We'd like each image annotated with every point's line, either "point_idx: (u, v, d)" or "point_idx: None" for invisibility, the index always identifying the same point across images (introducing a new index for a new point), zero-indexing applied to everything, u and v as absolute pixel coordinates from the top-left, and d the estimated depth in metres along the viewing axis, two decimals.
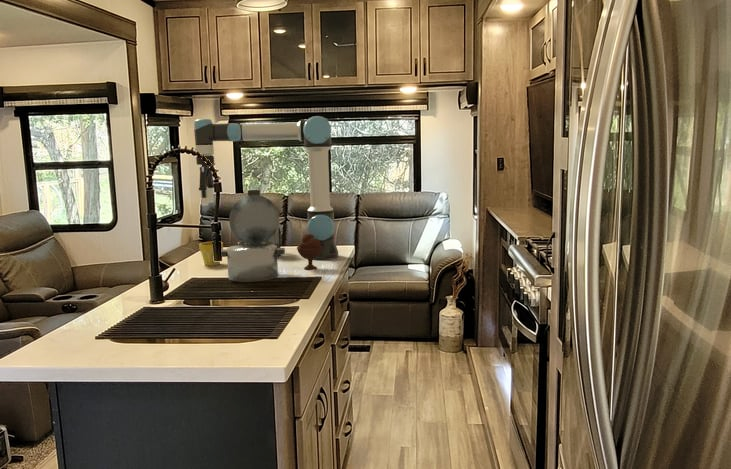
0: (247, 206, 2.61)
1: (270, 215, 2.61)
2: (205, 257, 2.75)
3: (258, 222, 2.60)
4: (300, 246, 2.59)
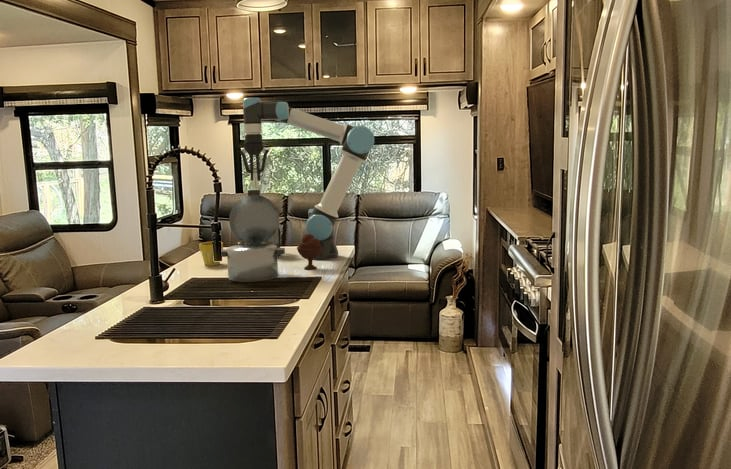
0: (247, 206, 2.61)
1: (270, 215, 2.61)
2: (205, 257, 2.75)
3: (258, 222, 2.60)
4: (300, 246, 2.59)
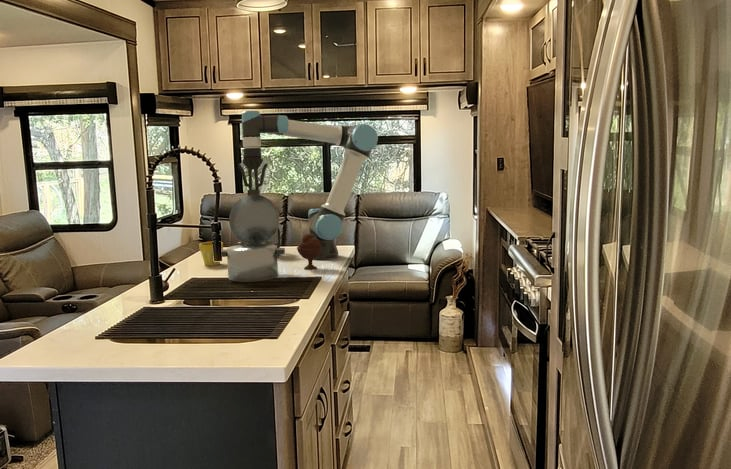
0: (247, 206, 2.60)
1: (270, 215, 2.60)
2: (205, 257, 2.75)
3: (258, 222, 2.60)
4: (300, 246, 2.59)
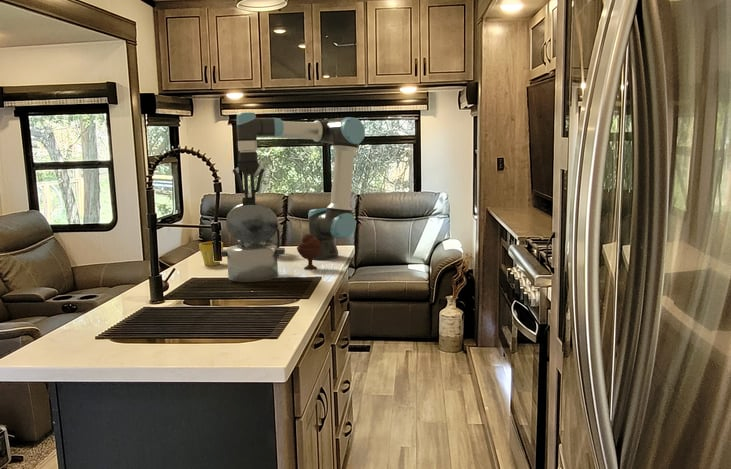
0: (243, 214, 2.48)
1: (269, 221, 2.52)
2: (205, 257, 2.75)
3: (256, 227, 2.53)
4: (300, 246, 2.59)
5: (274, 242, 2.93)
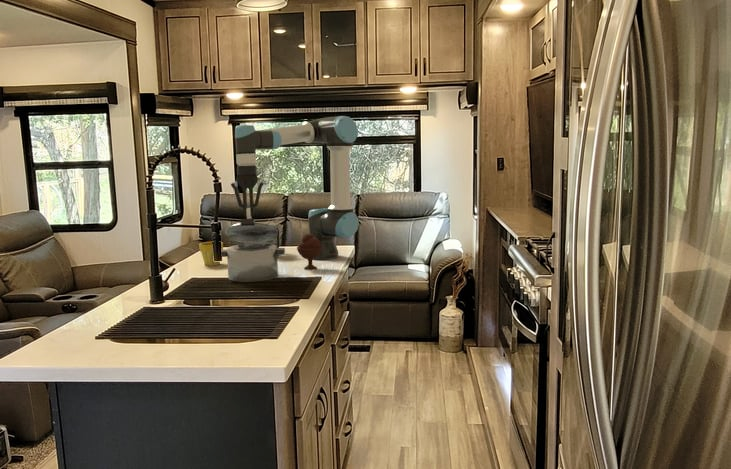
0: (242, 230, 2.44)
1: (268, 233, 2.48)
2: (205, 257, 2.75)
3: (256, 236, 2.51)
4: (300, 246, 2.59)
5: (274, 242, 2.93)
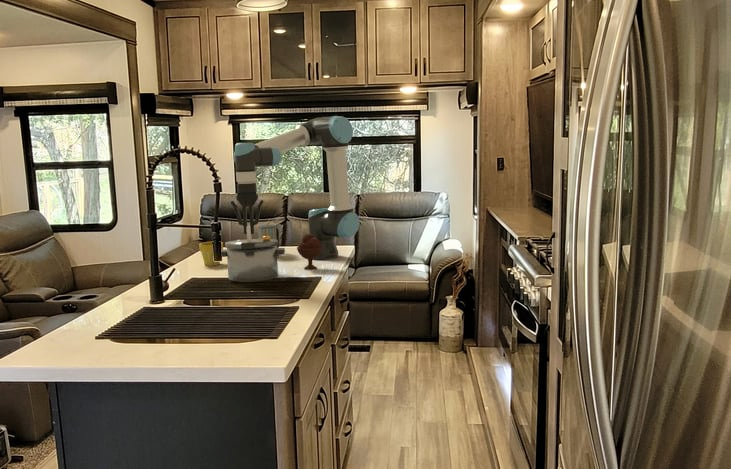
0: None
1: None
2: (205, 257, 2.75)
3: None
4: (300, 246, 2.59)
5: None
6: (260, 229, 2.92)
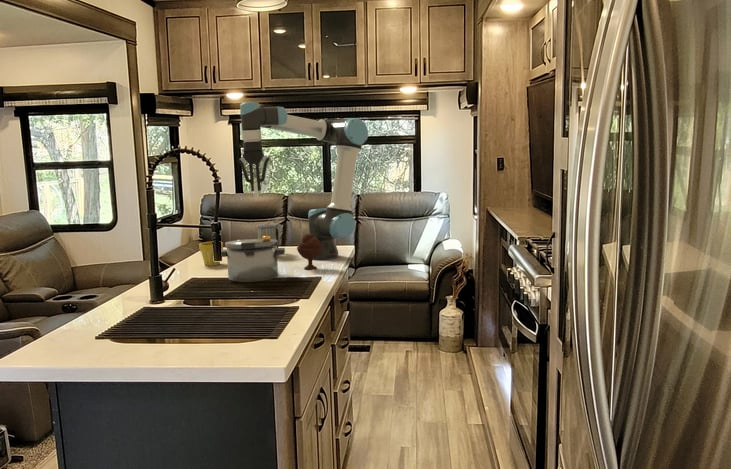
0: None
1: None
2: (205, 257, 2.75)
3: None
4: (300, 246, 2.59)
5: None
6: (259, 229, 2.92)
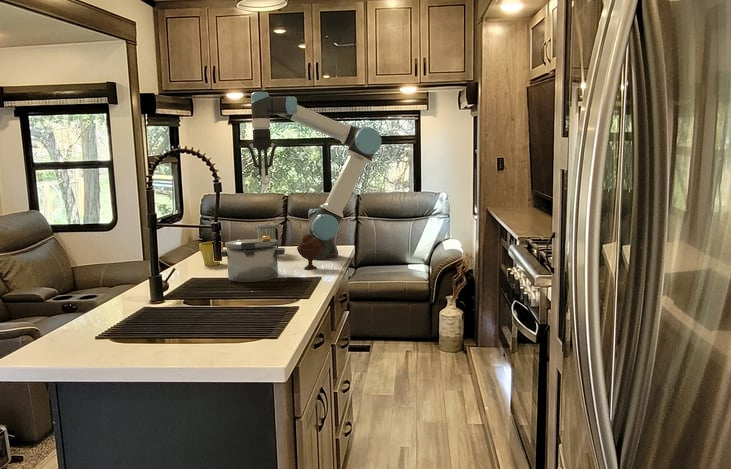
0: None
1: None
2: (205, 257, 2.75)
3: None
4: (300, 246, 2.59)
5: None
6: (259, 229, 2.92)
